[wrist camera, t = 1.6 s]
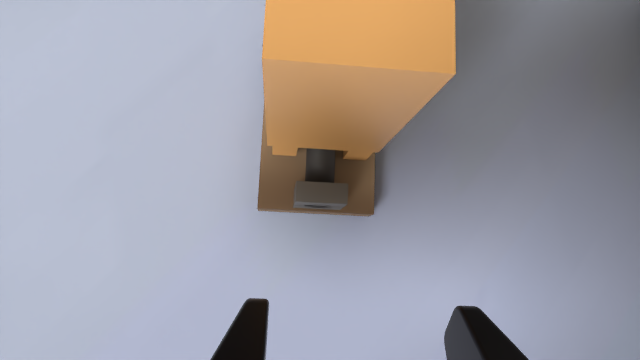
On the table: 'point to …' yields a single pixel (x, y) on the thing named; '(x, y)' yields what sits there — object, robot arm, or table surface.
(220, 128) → the table surface
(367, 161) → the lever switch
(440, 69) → the orange slab
